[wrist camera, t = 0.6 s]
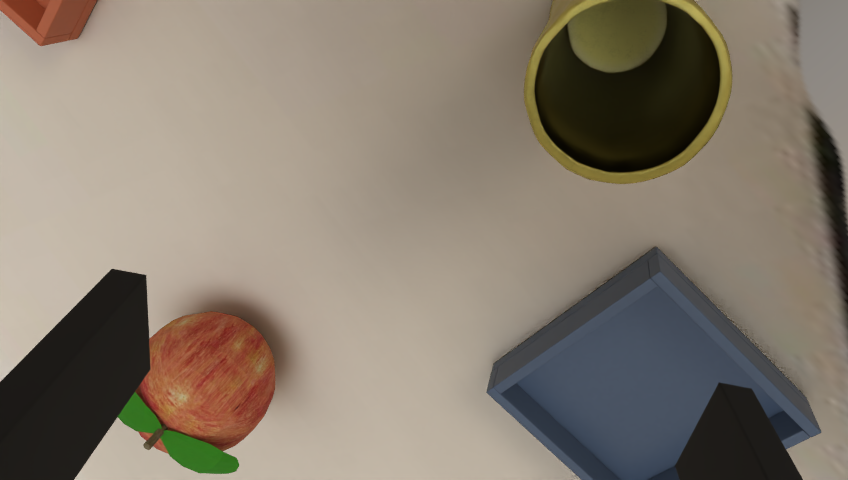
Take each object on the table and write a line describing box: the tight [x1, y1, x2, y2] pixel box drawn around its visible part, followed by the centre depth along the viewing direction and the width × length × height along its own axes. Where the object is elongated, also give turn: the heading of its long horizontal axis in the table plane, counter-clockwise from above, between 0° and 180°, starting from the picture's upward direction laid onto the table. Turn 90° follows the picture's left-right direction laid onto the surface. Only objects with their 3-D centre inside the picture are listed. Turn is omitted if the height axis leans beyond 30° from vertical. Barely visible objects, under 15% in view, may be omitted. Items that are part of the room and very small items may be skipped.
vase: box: [524, 0, 732, 184], centre depth 23 cm, size 6×6×14 cm
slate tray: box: [487, 247, 821, 480], centre depth 35 cm, size 12×12×3 cm
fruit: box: [118, 311, 275, 474], centre depth 39 cm, size 9×10×10 cm
